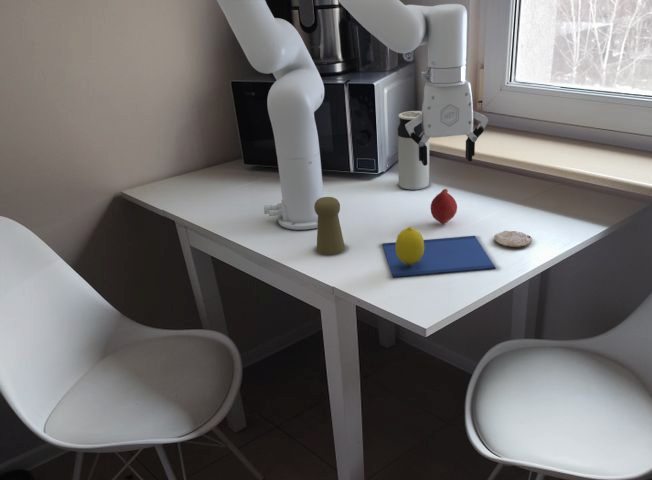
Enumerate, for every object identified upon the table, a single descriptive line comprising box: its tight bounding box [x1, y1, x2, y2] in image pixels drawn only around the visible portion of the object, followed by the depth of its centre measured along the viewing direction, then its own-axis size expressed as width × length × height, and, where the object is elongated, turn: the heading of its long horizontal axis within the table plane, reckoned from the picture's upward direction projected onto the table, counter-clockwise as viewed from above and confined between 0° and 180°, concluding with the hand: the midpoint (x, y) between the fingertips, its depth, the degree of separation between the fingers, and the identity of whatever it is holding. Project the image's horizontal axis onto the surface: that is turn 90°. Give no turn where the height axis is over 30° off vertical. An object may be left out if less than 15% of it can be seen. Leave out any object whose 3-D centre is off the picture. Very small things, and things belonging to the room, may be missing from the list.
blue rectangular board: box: [382, 235, 496, 279], centre depth 125 cm, size 20×16×1 cm
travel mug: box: [397, 110, 430, 191], centre depth 158 cm, size 8×8×18 cm
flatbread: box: [493, 230, 533, 248], centre depth 130 cm, size 8×8×1 cm
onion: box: [430, 188, 458, 225], centre depth 138 cm, size 6×6×8 cm
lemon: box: [395, 226, 424, 266], centre depth 119 cm, size 6×6×8 cm
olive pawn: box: [314, 196, 346, 256], centre depth 128 cm, size 6×6×11 cm
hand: (446, 161), depth 132 cm, fingers open, 9 cm apart
